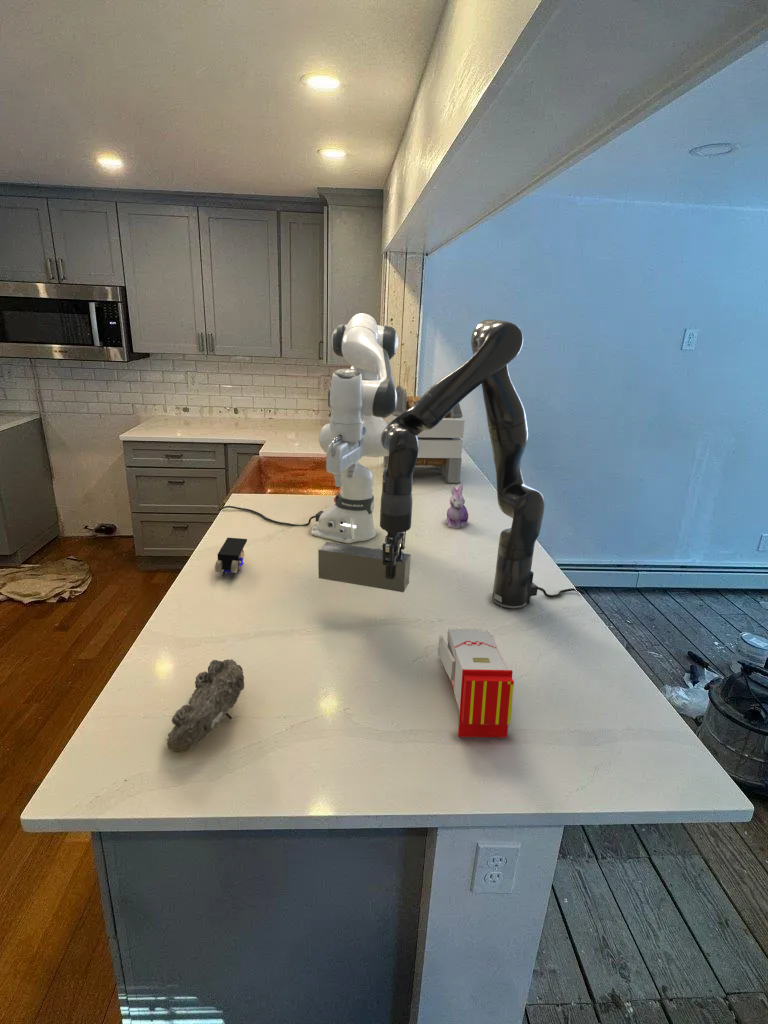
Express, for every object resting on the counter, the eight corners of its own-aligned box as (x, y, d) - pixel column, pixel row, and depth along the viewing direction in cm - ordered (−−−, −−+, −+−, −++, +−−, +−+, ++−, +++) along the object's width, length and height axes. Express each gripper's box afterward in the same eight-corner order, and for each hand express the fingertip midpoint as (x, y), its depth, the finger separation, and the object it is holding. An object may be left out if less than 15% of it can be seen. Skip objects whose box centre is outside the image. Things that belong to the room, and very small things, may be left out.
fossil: (192, 660, 117) (244, 628, 112) (224, 691, 120) (276, 661, 115) (142, 746, 98) (202, 712, 93) (182, 779, 101) (242, 748, 96)
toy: (488, 613, 130) (523, 677, 101) (484, 667, 133) (517, 744, 104) (435, 612, 130) (455, 676, 101) (432, 666, 133) (451, 743, 103)
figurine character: (238, 584, 162) (249, 557, 175) (236, 562, 158) (247, 536, 172) (215, 584, 161) (227, 556, 175) (212, 561, 158) (225, 535, 171)
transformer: (382, 463, 289) (386, 382, 275) (445, 464, 293) (451, 384, 279) (390, 482, 257) (394, 392, 243) (460, 483, 261) (468, 394, 247)
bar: (318, 578, 144) (318, 549, 141) (326, 569, 149) (326, 541, 146) (403, 592, 138) (405, 562, 136) (409, 582, 143) (410, 554, 140)
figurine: (453, 530, 205) (457, 490, 200) (438, 521, 213) (441, 482, 208) (475, 527, 209) (479, 488, 204) (459, 517, 217) (462, 480, 212)
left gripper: (343, 440, 141) (342, 493, 146) (368, 426, 160) (366, 474, 164) (320, 438, 143) (319, 490, 147) (347, 424, 161) (346, 471, 166)
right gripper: (404, 521, 127) (400, 588, 133) (418, 501, 140) (414, 563, 146) (372, 516, 129) (370, 583, 135) (389, 498, 142) (386, 559, 148)
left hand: (344, 481), depth 156 cm, fingers open, 8 cm apart
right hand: (393, 572), depth 140 cm, fingers closed on bar, 5 cm apart
